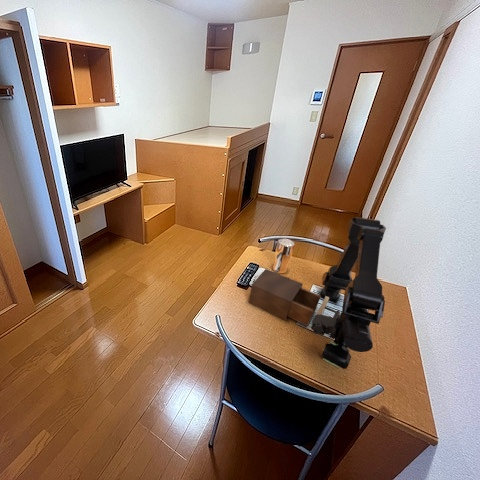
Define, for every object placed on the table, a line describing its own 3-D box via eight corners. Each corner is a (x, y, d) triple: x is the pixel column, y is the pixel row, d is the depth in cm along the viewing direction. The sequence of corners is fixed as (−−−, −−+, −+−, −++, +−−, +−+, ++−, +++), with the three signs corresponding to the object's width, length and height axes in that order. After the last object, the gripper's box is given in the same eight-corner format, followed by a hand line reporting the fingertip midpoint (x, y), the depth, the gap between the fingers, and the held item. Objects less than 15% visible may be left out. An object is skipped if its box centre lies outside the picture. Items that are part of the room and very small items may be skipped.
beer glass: (289, 274, 118) (296, 247, 111) (272, 273, 120) (279, 245, 112) (285, 265, 124) (293, 238, 116) (270, 264, 125) (276, 237, 118)
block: (326, 349, 84) (330, 340, 82) (342, 358, 82) (347, 349, 79) (322, 359, 81) (326, 350, 79) (338, 368, 79) (343, 359, 76)
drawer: (337, 319, 95) (344, 303, 91) (329, 339, 87) (336, 323, 83) (286, 296, 105) (290, 281, 101) (275, 312, 98) (279, 297, 94)
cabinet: (297, 302, 104) (303, 283, 99) (285, 320, 96) (291, 301, 91) (261, 286, 112) (265, 268, 107) (248, 302, 104) (251, 284, 100)
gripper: (327, 292, 83) (314, 325, 91) (309, 327, 72) (296, 362, 80) (369, 308, 77) (351, 342, 85) (357, 350, 65) (337, 385, 73)
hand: (333, 356), depth 81 cm, fingers closed on block, 4 cm apart
